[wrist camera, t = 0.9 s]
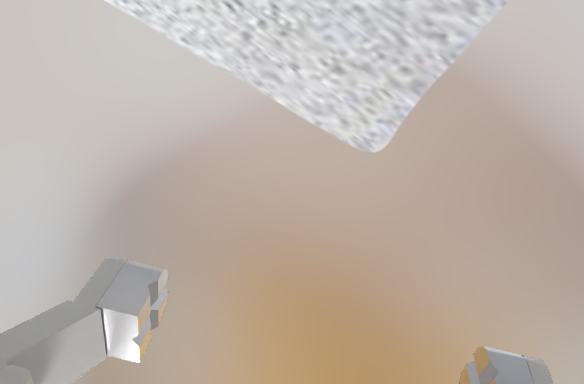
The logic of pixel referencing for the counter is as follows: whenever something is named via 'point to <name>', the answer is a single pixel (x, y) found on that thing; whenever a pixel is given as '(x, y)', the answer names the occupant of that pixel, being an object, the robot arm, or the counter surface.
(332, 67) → the counter surface
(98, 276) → the robot arm
